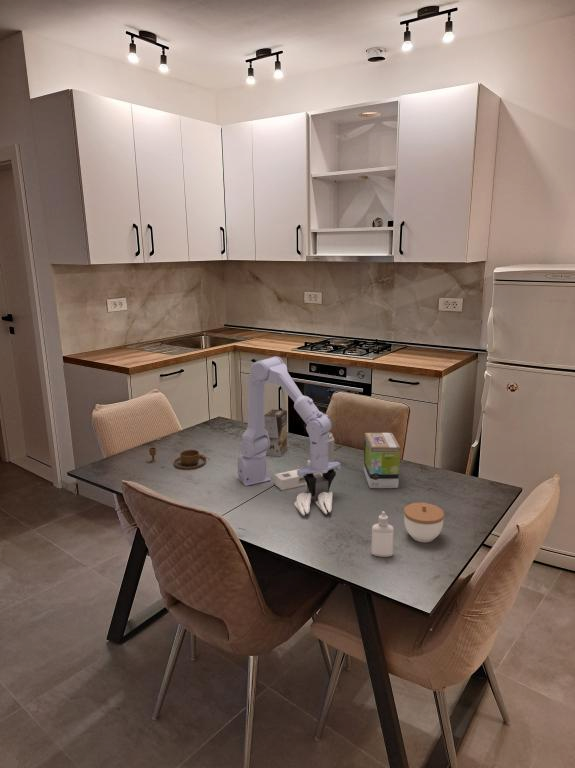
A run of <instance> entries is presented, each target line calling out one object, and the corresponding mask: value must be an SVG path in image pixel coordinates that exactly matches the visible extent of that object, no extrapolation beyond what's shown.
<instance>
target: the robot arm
mask: <svg viewBox="0 0 575 768" xmlns="http://www.w3.org/2000/svg"><path fill="white" fill-rule="evenodd" d="M266 383H272V384H277V385H279V386H280V387H281V389H282V390H283V391H284V392H285V393H286V395H287V396H288V397H289V398H290V399H291V400H292V401H293V402H294V404H293V408H294V410H295V411H296V412H297V414H298V415H299V416H300V418H301V419H302V420H303V422H304V424H306V426H305V429H306V432H307V434H308V439H309V460H310V465H309V466H307V465H306V466H304V467H303V468H297V469H298V470H297V469H296V470H297V475H298V476H299V477H300V478H301V477H304V479H305V481H306V483H307V486H308V489H309V493H311V496H315V483H316V478H315V477H314V475H313V474H315V473H322V474H323V477H324V478H325V479H327V480H328V493H330V489H331V486H332V482H333V481H334V479H335V478H336V476H337V475H336V474H337V473H336V471H335V470H341V462H339V461H334V462H328V432H330V431H331V430H332V428H333V422H332V419H331V418H330V416H329V415H327V414H326V413H323V412H322V411H320V410H319V408H318V407H317V406H316V405H315V403H314V400H313V399H312V398H311V397H309V396H307V395H303V394H302V393H303V392H301V390H300V389H299V387H298V385H297V383H295V381H294V379H293V378H292V377H291V375H290V374H289V372H288V367H287V365H286V363H284V360H283V358H281V357H279V356H277V355H274V356H272V357H269V358H265V359H262V360H256V361H254V363H252V364H250V372H249V374H248V376H247V428H246V430H245V431H244V432H243V434H242V435H241V440H240V443H239V450H240V452H241V454H242V456H241V457H238V458H237V479H238V480H240V481H239V482H241V483H242V484H243V485H244V486H246V487H247V486H252V485H256V484H261V483H266V482H269V481H271V480H272V479H271V478H270V477H269V476H268V475H267V455H266V453H267V449H269V447H270V439H269V437H268V431H267V430H266V429H265V423H264V415H265V384H266ZM326 432H327V433H326Z"/></svg>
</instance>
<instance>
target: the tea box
mask: <svg viewBox="0 0 575 768" xmlns="http://www.w3.org/2000/svg"><path fill="white" fill-rule="evenodd" d="M363 448H364V449H363V473H364V475H365V478H366V482H367V485H368V488H370V489H398V488H399V483H400V482H399V479H400V477H399V476H400V464H401V463H400V462H401V461H400V460H401V445H400V444H399V442H398V441H397V439H396V437H395V436H394V433H393V432H365V433H364V447H363Z"/></svg>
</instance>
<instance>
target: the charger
mask: <svg viewBox="0 0 575 768" xmlns="http://www.w3.org/2000/svg"><path fill="white" fill-rule="evenodd" d="M314 477H315V478H316V483H315V496H311V500H312V501H313V502H314V503H315V502H316V501H317V500H318V495H319V494H320V493H322V492H326V493H328V480H327V479H325V478H324V477H323V476H321V475H320V474H316V475H314ZM305 488H306V493H309V489H308V486H307V483H306V485H305Z"/></svg>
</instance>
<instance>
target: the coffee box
mask: <svg viewBox="0 0 575 768" xmlns="http://www.w3.org/2000/svg"><path fill="white" fill-rule="evenodd" d="M264 429H266V430H267V431H268V437H269V439H270V447H269V449H267V453H266V456H269V457H270V456H271V457H281V456H282V455H283V454H284V453H285V452H286V451H287V450H288V410H287V409H286V410H285V409H274V408H273V409H271V410H270V411H268V412H267V413H265V414H264Z"/></svg>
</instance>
